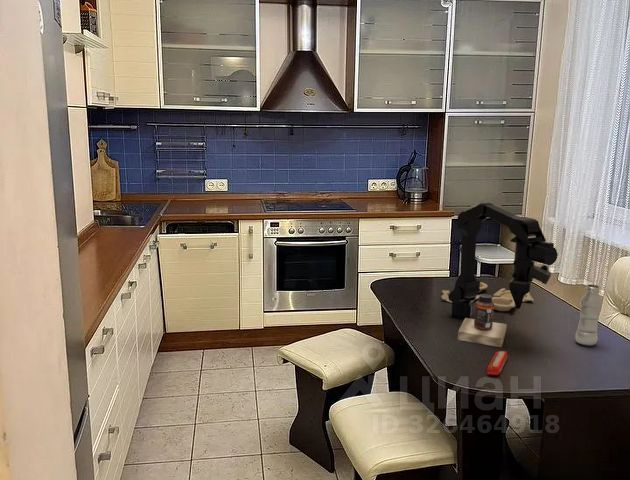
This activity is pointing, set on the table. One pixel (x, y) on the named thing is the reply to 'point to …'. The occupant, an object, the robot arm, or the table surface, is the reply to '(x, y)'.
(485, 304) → the supplement bottle
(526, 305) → the table surface
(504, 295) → the tableware set
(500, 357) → the candy bar
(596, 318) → the plastic bottle
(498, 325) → the birch base block
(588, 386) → the table surface
